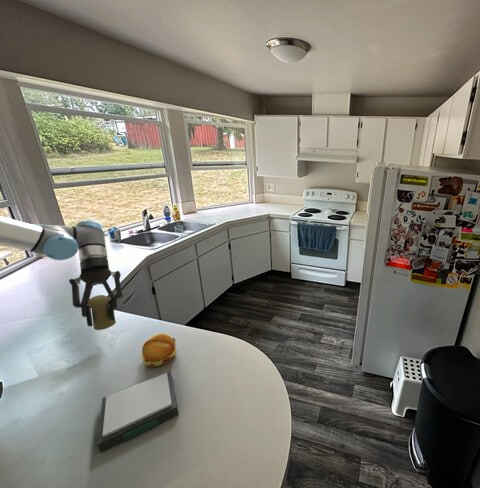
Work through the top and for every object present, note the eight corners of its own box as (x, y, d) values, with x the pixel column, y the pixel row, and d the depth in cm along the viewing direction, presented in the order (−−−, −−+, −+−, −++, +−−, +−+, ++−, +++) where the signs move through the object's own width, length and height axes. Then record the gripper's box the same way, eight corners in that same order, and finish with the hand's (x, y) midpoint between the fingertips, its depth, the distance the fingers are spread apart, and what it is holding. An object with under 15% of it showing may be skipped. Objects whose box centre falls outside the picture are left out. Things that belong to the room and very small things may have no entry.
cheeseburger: (172, 341, 92) (170, 322, 87) (182, 363, 86) (180, 344, 81) (139, 355, 85) (135, 335, 80) (147, 379, 79) (143, 360, 74)
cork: (119, 323, 88) (111, 296, 85) (97, 332, 83) (88, 304, 80) (111, 317, 91) (104, 290, 88) (90, 325, 86) (81, 298, 83)
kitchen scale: (100, 455, 58) (95, 444, 56) (105, 405, 69) (101, 395, 67) (179, 416, 67) (176, 406, 65) (172, 378, 78) (170, 368, 76)
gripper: (127, 259, 98) (136, 316, 92) (62, 269, 88) (67, 334, 81) (124, 251, 93) (133, 311, 86) (54, 261, 82) (59, 330, 75)
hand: (101, 322), depth 84 cm, fingers closed on cork, 5 cm apart
